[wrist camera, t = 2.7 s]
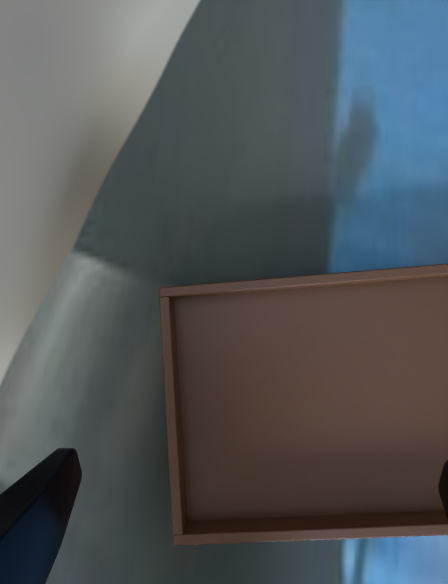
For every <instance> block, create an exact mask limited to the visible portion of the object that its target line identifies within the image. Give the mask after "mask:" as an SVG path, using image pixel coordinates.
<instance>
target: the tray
mask: <svg viewBox="0 0 448 584" xmlns="http://www.w3.org/2000/svg"><path fill="white" fill-rule="evenodd" d="M159 296H160V316H161V334H162V351H163V369H164V387H165V404H166V422H167V440H168V457H169V475H170V493H171V510H172V528H173V544H174V545H200V544H226V543H252V542H278V541H304V540H330V539H356V538H382V537H408V536H434V535H448V520H447V516H446V513H445V510H444V507H443V504H442V501H441V498H440V495H439V490H438V484H439V480H440V476H441V473H442V469H443V465H444V463H445V461H447V460H448V264H439V265H427V266H415V267H403V268H391V269H379V270H367V271H355V272H343V273H331V274H319V275H306V276H294V277H282V278H270V279H258V280H246V281H234V282H222V283H210V284H198V285H186V286H174V287H162V288H159Z"/></svg>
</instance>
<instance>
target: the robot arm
mask: <svg viewBox="0 0 448 584" xmlns="http://www.w3.org/2000/svg"><path fill="white" fill-rule="evenodd" d="M81 478H82V471H81V467H80V463H79V459H78V455H77V451H76V450H75V449H73V448H59V449H57V450H55V451H54V452H53V453H52V454H50V455H49V456H48V457H47V458H45V459H44V460H43V461H42V462H40V463H39V464H38V465H37V466H35V467H34V468H33V469H32V470H30V471H29V472H28V473H27V474H25V475H24V476H23V477H22V478H20V479H19V480H18V481H17V482H15V483H14V484H13V485H12V486H10V487H9V488H8V489H7V490H5V491H4V492H3V493H2V494H0V584H45V583H46V580H47V578H48V576H49V573H50V571H51V568H52V566H53V564H54V561H55V559H56V556H57V554H58V551H59V549H60V546H61V543H62V540H63V537H64V534H65V531H66V528H67V525H68V521H69V518H70V515H71V512H72V508H73V505H74V502H75V499H76V495H77V492H78V489H79V486H80V482H81ZM438 490H439V495H440V498H441V501H442V504H443V507H444V510H445V513H446V516H447V520H448V460H447V461H445V463H444V465H443V469H442V473H441V476H440V480H439V484H438Z"/></svg>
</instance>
